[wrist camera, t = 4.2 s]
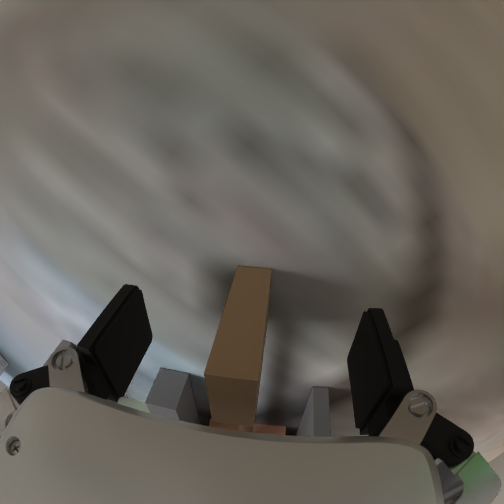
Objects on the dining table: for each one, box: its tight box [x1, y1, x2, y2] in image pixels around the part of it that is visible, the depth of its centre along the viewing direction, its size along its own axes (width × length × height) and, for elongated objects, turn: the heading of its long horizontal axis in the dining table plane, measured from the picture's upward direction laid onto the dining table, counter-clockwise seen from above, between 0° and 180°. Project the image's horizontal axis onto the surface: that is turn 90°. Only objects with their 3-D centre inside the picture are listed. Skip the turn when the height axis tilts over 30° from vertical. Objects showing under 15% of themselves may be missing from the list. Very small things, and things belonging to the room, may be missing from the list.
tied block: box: [204, 266, 286, 435], centre depth 15 cm, size 20×6×6 cm, turn 178°
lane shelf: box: [44, 340, 331, 437], centre depth 15 cm, size 17×20×14 cm
